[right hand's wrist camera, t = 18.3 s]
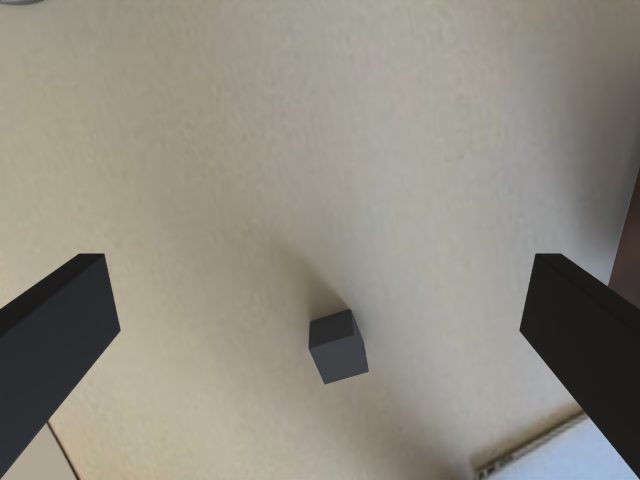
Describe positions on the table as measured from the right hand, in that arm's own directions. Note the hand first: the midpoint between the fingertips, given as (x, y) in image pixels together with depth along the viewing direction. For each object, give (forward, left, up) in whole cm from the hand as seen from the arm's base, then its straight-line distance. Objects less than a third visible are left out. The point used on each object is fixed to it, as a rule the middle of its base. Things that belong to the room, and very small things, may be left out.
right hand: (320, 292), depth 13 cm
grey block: (+21, +2, -29) cm, 36 cm away
